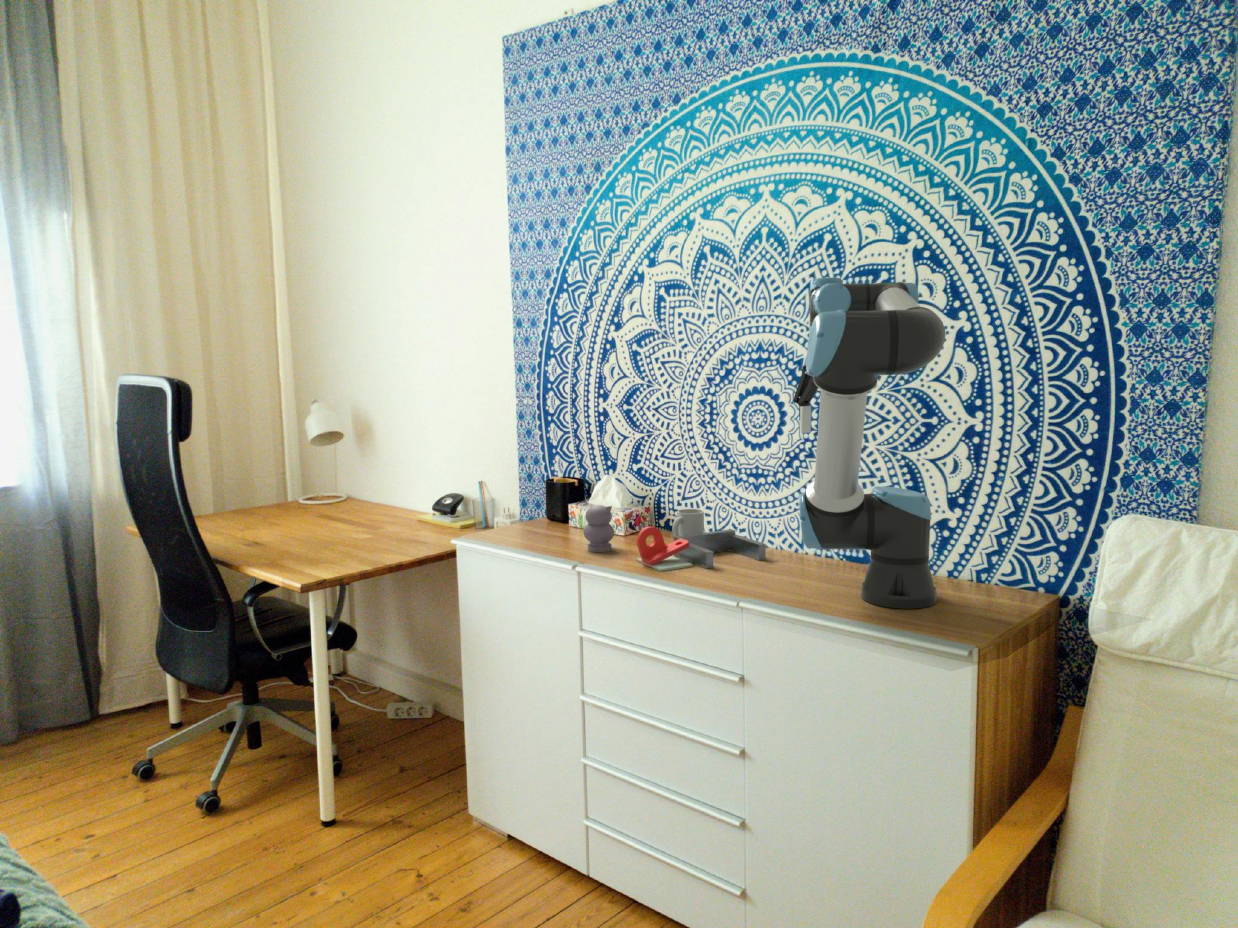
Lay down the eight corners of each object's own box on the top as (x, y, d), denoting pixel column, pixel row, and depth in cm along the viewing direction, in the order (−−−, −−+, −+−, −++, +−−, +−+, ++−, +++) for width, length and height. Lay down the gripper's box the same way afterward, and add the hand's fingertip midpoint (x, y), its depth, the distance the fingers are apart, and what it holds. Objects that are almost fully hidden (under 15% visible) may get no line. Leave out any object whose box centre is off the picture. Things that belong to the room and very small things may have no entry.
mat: (692, 566, 214) (692, 564, 214) (660, 571, 210) (660, 568, 210) (667, 556, 225) (667, 554, 224) (636, 560, 220) (636, 558, 220)
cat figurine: (577, 549, 233) (576, 505, 232) (597, 544, 239) (596, 501, 237) (601, 554, 228) (600, 508, 226) (621, 548, 234) (620, 504, 232)
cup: (709, 543, 238) (709, 511, 237) (682, 549, 232) (682, 516, 231) (690, 539, 244) (690, 507, 242) (664, 545, 237) (663, 512, 236)
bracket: (651, 565, 213) (642, 536, 211) (642, 561, 217) (633, 533, 215) (691, 545, 218) (683, 516, 216) (681, 542, 222) (673, 513, 220)
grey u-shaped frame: (765, 559, 220) (765, 539, 219) (706, 568, 212) (706, 548, 211) (721, 544, 237) (721, 526, 236) (665, 552, 229) (664, 533, 228)
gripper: (875, 344, 197) (873, 438, 200) (803, 345, 219) (802, 430, 222) (850, 345, 194) (848, 440, 196) (779, 345, 215) (778, 431, 218)
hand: (823, 435), depth 209 cm, fingers open, 13 cm apart
